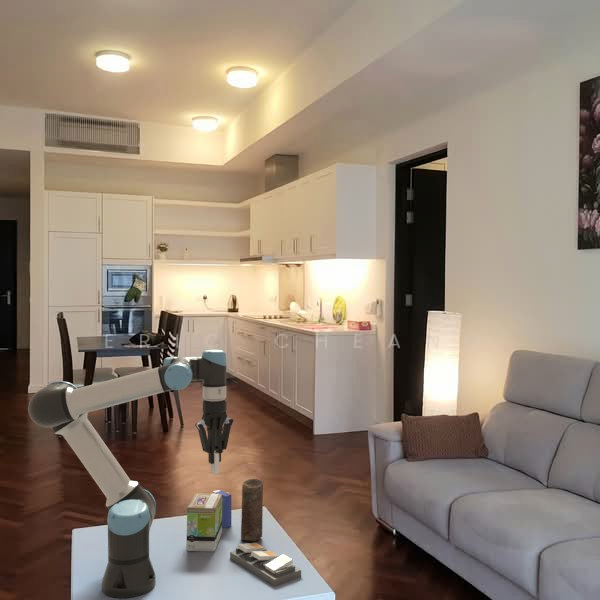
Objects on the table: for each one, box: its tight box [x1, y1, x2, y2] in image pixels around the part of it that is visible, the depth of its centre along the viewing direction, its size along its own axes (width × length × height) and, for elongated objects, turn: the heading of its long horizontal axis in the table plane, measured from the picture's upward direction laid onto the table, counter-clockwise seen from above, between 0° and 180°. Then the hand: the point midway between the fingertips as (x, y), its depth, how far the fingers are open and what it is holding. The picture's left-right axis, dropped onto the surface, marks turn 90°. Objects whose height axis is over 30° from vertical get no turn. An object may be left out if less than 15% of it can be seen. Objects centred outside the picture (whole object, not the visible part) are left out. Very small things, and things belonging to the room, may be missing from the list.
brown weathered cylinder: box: [240, 478, 264, 542], centre depth 218 cm, size 8×7×20 cm
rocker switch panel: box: [229, 547, 302, 587], centre depth 197 cm, size 10×24×3 cm, turn 39°
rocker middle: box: [251, 550, 279, 560], centre depth 197 cm, size 7×5×1 cm, turn 129°
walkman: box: [211, 489, 233, 529], centre depth 232 cm, size 8×3×12 cm, turn 46°
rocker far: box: [237, 542, 265, 553], centre depth 203 cm, size 7×5×1 cm, turn 129°
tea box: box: [185, 492, 223, 552], centre depth 216 cm, size 15×10×15 cm
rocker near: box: [265, 553, 294, 574], centre depth 191 cm, size 7×5×1 cm, turn 129°
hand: (214, 473), depth 200 cm, fingers closed
